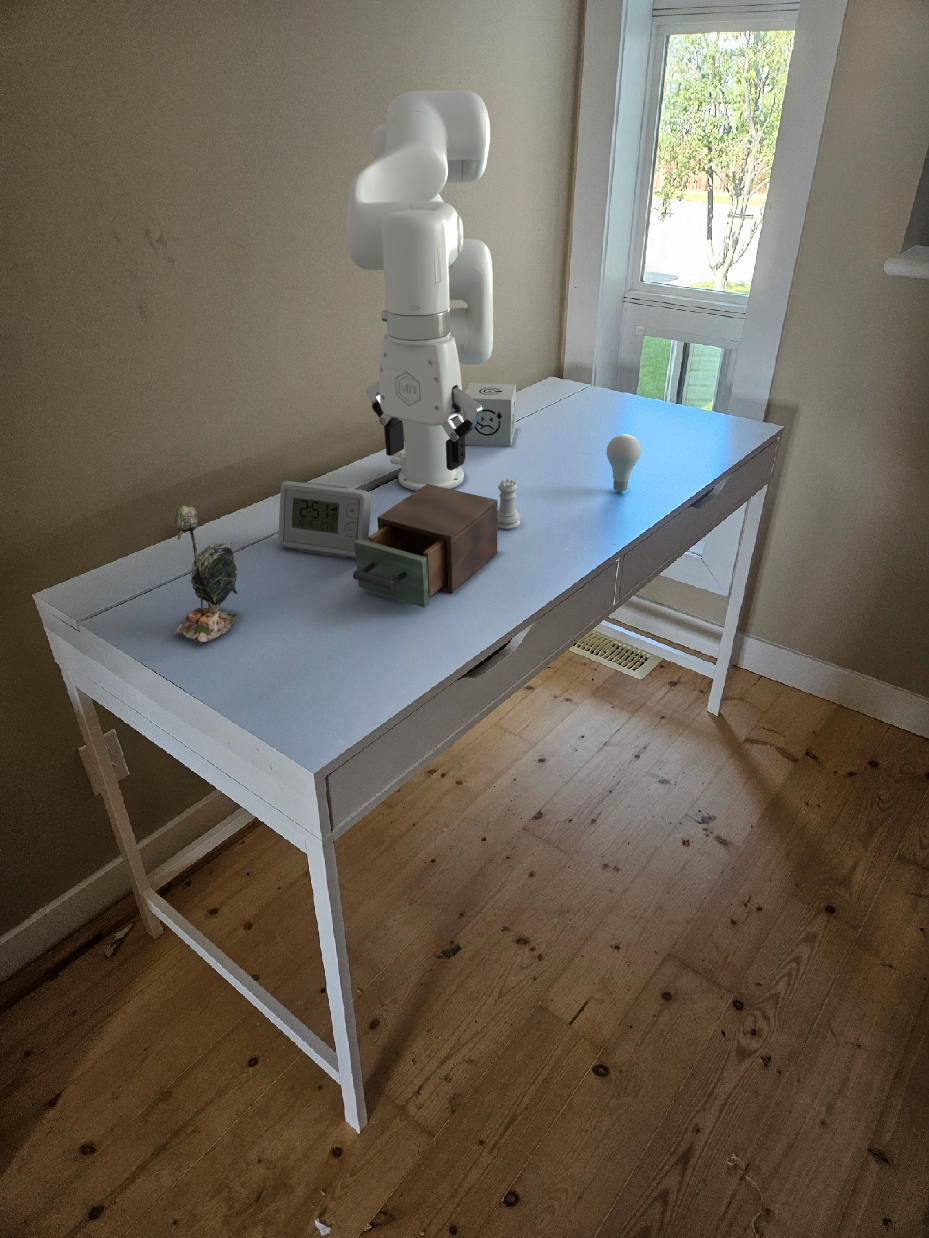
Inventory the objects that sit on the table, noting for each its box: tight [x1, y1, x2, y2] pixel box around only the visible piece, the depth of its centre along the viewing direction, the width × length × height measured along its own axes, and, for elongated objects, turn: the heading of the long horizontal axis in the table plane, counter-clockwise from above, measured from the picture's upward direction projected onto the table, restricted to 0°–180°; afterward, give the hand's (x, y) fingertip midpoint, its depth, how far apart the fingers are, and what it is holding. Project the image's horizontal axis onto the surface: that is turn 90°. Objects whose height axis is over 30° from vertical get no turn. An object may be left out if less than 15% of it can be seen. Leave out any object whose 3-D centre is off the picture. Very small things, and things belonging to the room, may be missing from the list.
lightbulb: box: [606, 433, 642, 493], centre depth 151 cm, size 6×6×11 cm
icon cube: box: [462, 382, 517, 447], centre depth 176 cm, size 10×10×10 cm
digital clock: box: [278, 480, 372, 559], centre depth 135 cm, size 16×9×11 cm, turn 61°
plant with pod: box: [174, 505, 239, 645], centre depth 113 cm, size 8×11×20 cm
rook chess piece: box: [497, 478, 521, 531], centre depth 141 cm, size 4×4×8 cm
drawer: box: [352, 525, 448, 609], centre depth 123 cm, size 17×12×8 cm
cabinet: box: [376, 484, 499, 594], centre depth 130 cm, size 14×13×10 cm
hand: (424, 459), depth 109 cm, fingers open, 9 cm apart
